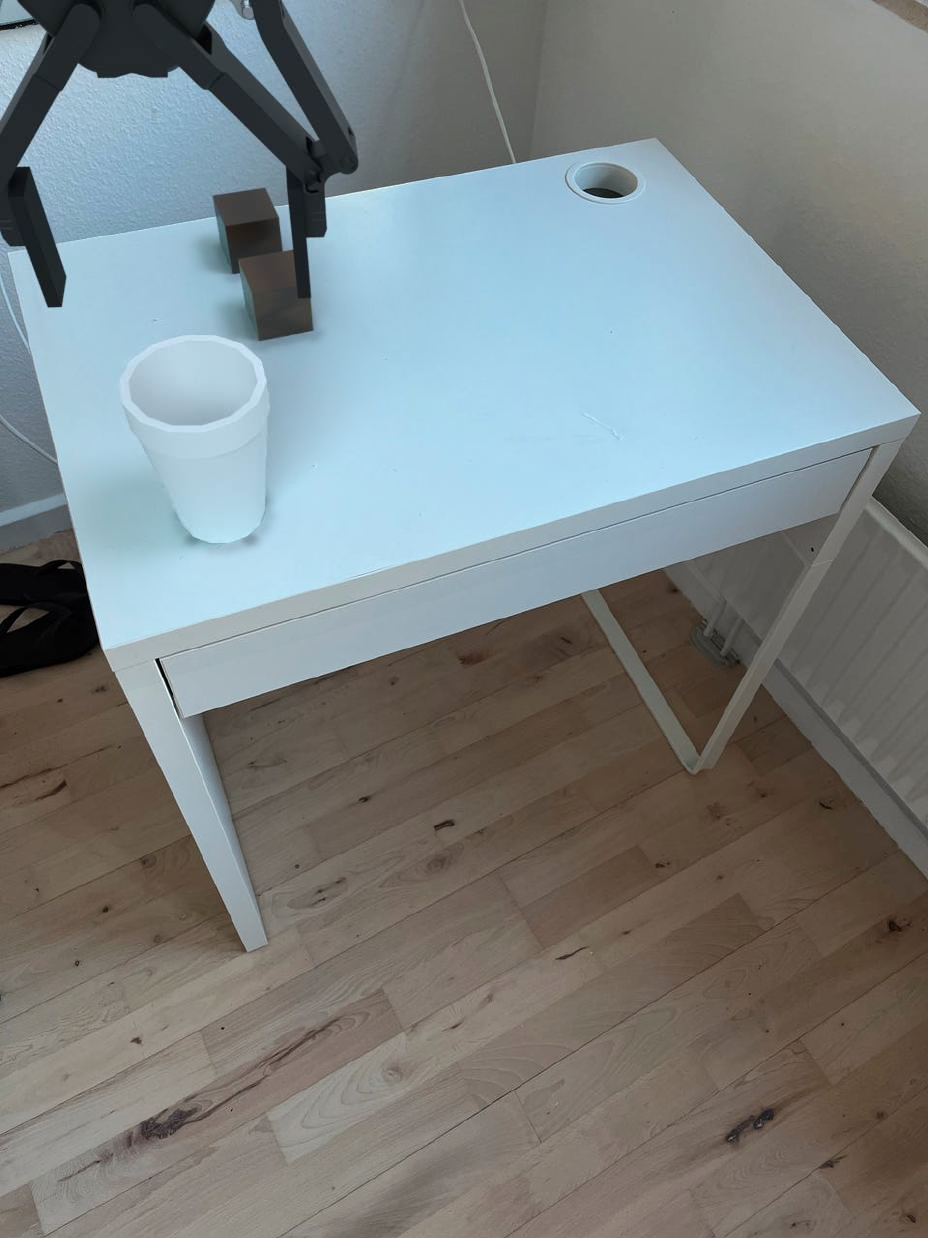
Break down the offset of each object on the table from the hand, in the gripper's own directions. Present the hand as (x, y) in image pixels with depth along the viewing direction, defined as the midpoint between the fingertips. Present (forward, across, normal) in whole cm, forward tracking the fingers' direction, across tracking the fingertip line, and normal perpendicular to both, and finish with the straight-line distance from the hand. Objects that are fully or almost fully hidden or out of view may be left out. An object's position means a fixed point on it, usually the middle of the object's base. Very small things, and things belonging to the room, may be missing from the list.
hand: (182, 288), depth 53 cm
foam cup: (+22, +1, -2) cm, 22 cm away
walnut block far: (+22, -2, -35) cm, 41 cm away
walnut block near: (+22, -4, -25) cm, 33 cm away
